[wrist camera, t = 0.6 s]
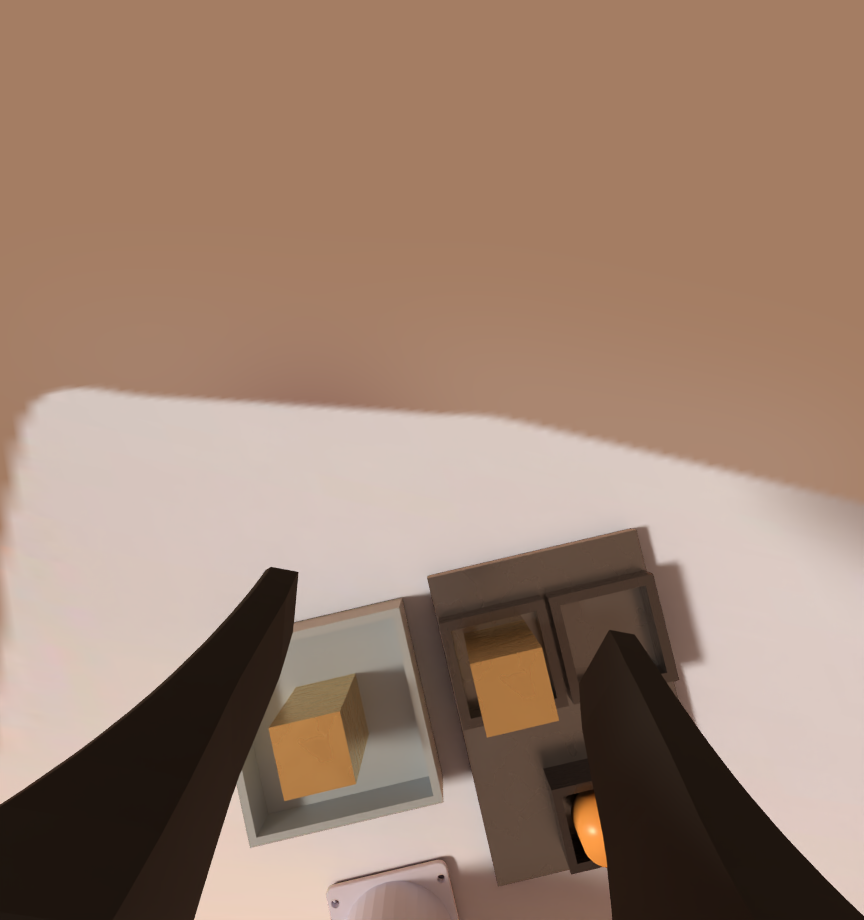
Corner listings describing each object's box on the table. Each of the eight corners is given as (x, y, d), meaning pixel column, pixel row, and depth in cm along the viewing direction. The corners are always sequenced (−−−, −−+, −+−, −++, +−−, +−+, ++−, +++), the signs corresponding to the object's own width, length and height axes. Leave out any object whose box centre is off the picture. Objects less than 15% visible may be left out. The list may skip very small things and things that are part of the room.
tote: (442, 776, 36) (443, 802, 33) (265, 817, 36) (249, 847, 33) (401, 597, 37) (398, 607, 34) (226, 638, 37) (208, 652, 34)
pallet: (703, 825, 36) (732, 862, 33) (496, 875, 36) (503, 917, 33) (630, 528, 37) (651, 533, 34) (427, 575, 37) (427, 585, 33)
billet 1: (368, 733, 36) (355, 784, 30) (309, 747, 36) (284, 801, 30) (355, 673, 36) (339, 711, 30) (295, 687, 36) (268, 728, 30)
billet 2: (538, 680, 36) (559, 720, 30) (477, 694, 36) (486, 737, 30) (523, 619, 36) (541, 647, 30) (463, 633, 36) (469, 664, 30)
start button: (628, 832, 34) (644, 860, 31) (577, 844, 34) (589, 873, 31) (616, 780, 34) (630, 804, 31) (565, 792, 34) (575, 817, 31)
